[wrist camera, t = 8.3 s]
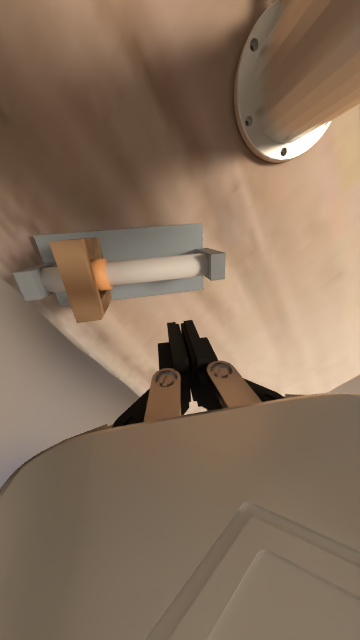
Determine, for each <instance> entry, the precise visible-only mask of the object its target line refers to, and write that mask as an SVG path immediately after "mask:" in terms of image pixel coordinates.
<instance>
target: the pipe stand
mask: <svg viewBox="0 0 360 640" xmlns="http://www.w3.org/2000/svg"><path fill="white" fill-rule="evenodd" d="M33 236H34V239H35V242H36V244H37V247H38V250H39V252H40V255H41V258H42V260H43V264H40V265H36V266H33V267H30V268H27V269H23V270H20V271H17V272H14V273H13V275H14V278H15V280H16V282H17V284H18V286H19V288H20V291H21V293H22V295H23V297H24V299H25V301H32V300H41V299H44V298H45V297H47V296H48V295H50V294H51V293H53V292H55V295H56V298H57V300H58V303H59V306H67V305H71V304H70V301H69V299H68V296H67V293H66V290H65V287H64V284H63V281H62V278H61V275H60V273H59V270H58V267H57V264H56V261H55V258H54V255H53V252H52V249H51V247H50V244H49V242H51V241H61V240H70V239H81V238H94V237H98V239H99V243H100V247H101V251H102V256H103V259H92V260H90V261H91V265H92V269H93V272H94V276H95V280H96V284H97V287H98V291H101V290H110V289H111V294H112V300H118V299H127V298H135V297H144V296H153V295H161V294H170V293H178V292H187V291H195V290H203V276H205V277H207V278H208V279H210V280H211V281H212V280H221V279H225V256H226V253H224V252H220V251H216V250H212V249H209V248H203V237H202V223H199V224H185V225H171V226H158V227H144V228H130V229H116V230H102V231H88V232H75V233H61V234H47V235H33Z"/></svg>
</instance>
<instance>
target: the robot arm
mask: <svg viewBox="0 0 360 640" xmlns="http://www.w3.org/2000/svg"><path fill="white" fill-rule="evenodd" d="M358 104H360V0H275V1H274V2H273V3H272V4H271V5H269V6H268V7H267V8H266V10H265V11H264V12H263V14H262V15H261V16H260V17H259V19H258V20H257V22H256V23H255V25H254V27H253V29H252V31H251V32H250V34H249V36H248V38H247V40H246V43H245V45H244V47H243V49H242V52H241V55H240V59H239V62H238V65H237V70H236V76H235V82H234V107H235V116H236V120H237V124H238V128H239V130H240V133H241V135H242V138H243V140H244V141H245V143H246V144H247V146H248V148H249V149H250V150H251V151H252V152H253V153H254V154H255V155H256V156H258V157H260V158H261V159H263V160H265V161H268V162H272V163H281V162H286V161H290V160H292V159H294V158H296V157H298V156H300V155H302V154H303V153H305V152H307V151H308V150H309V149H310V148H311V147H312V146H313V145H315V144H316V142H317V141H318V140H319V139H320V138H321V136H322V135H323V134H324V132H325V131H326V129H327V128H328V126H329V125H330V123H331V121H332V120H333V119H335V118H337V117H338V116H340V115H342V114H343V113H345V112H347V111H348V110H350V109H352V108H353V107H355V106H357V105H358ZM245 123H246V124H247V126H246V124H245ZM167 327H168V336H169V342H167V343H159V344H158V355H159V371H157V372H156V373H155V374H154V375H153V377H152V381H151V386H150V389H149V390H148V391H147V392H145V393H144V394H143V395H142V396H141V397H140V398H139V399H138V400H137V401H136V402H135V403H134V404H133V405H131V406H130V407H129V408H128V409H127V410H126V411H125V412H124V413H123V414H122V415H121V416H120V417H119V418H118V419H117V420H116V421H115V422H114V424H113V425H110V426H108V425H107V424H106V425H103V426H100V427H98V428H95V429H93V430H90V431H87V432H85V433H82V434H79V435H77V436H74V437H71V438H69V439H66V440H63V441H62V442H60V443H58V444H55V445H54V446H51V447H50V448H48V449H46V450H44V451H42V452H40V453H39V454H37V455H35V456H34V457H32V458H31V459H29V460H28V461H26V462H25V463H24V464H22V465H21V466H20V467H19V468H18V469H17V470H16V471H15V472H14V473H13V474H12V475H11V476H10V477H9V478H8V479H7V481H6V482H5V483H4V484H3V486H2V487H1V489H0V640H360V394H352V393H322V394H312V395H291V394H285V397H283V396H282V395H280V394H279V393H277V392H275V391H272V390H270V389H267V388H265V387H263V386H260V385H258V384H256V383H253V382H251V381H248V380H246V379H244V378H242V376H241V375H240V374H239V373H238V371H237V370H236V369H235V368H234V367H233V366H232V365H231V364H230V363H228V362H225V361H218V359H217V357H216V355H215V353H214V351H213V349H212V347H211V345H210V343H209V340H208V339H207V337H205V338H200V337H199V335H198V333H197V330H196V328H195V326H194V323H193V321H192V320H188V321H184V323H181V330H180V327H179V324H176V323H175V322H172V323H167ZM181 332H182V334H181ZM190 389H191V393H192V397H193V401H197V403H198V407H200V406H202V407H204V408H206V409H207V411H205V412H199V413H193V414H187V415H184V414H185V412H186V411H187V410H188V408H189V402H191V393H190Z"/></svg>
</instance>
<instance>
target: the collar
mask: <svg viewBox="0 0 360 640" xmlns="http://www.w3.org/2000/svg"><path fill="white" fill-rule="evenodd" d="M49 244H50V247H51V249H52V252H53V255H54V258H55V261H56V264H57V267H58V270H59V273H60V275H61V278H62V281H63V284H64V287H65V290H66V293H67V296H68V299H69V301H70V304H71V307H72V310H73V313H74V316H75V319H76V322H77V323H80V322H88V321H96V320H102V318H103V316H104V314H105V312H106V310H107V308H108V306H109V304H110V302H111V300H112V294H111V289H110V290H101V291H98V287H97V284H96V280H95V276H94V272H93V269H92V265H91V261H90V260H92V259H103V256H102V251H101V247H100V243H99V239H98V237H94V238H81V239H70V240H61V241H51V242H49Z"/></svg>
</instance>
